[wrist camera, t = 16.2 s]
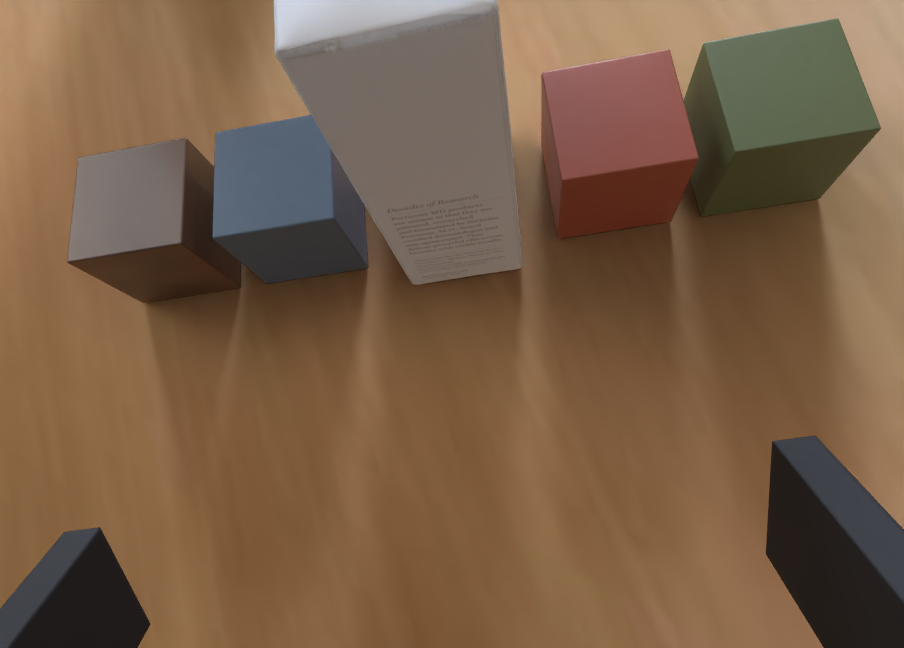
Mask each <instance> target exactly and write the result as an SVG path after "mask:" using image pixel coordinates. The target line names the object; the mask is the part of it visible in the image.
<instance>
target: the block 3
mask: <svg viewBox="0 0 904 648" xmlns="http://www.w3.org/2000/svg"><path fill="white" fill-rule="evenodd" d="M541 145H542V151H543V157H544V163H545V168H546V174H547V180H548V185H549V191H550V197H551V203H552V208H553V214H554V220H555V225H556V231H557V237H558V238H559V239H560V238H567V237H573V236H579V235H586V234H592V233H599V232H605V231H612V230H618V229H625V228H631V227H638V226H644V225H651V224H657V223H664V222H670V221H671V220H672V218H673V216H674V213H675V211H676V209H677V207H678V204H679V202H680V200H681V198H682V195H683V193H684V191H685V189H686V186H687V184H688V182H689V180H690V177H691V175H692V173H693V171H694V168H695V166H696V164H697V162H698V159H699V157H698V153H697V149H696V146H695V142H694V138H693V135H692V131H691V127H690V123H689V120H688V116H687V112H686V109H685V105H684V101H683V98H682V94H681V90H680V86H679V83H678V79H677V75H676V72H675V68H674V64H673V61H672V57H671V53H670V50H662V51H657V52H651V53H646V54H640V55H635V56H630V57H624V58H619V59H613V60H608V61H602V62H597V63H591V64H586V65H580V66H575V67H570V68H564V69H559V70H553V71H548V72H543V73H542V128H541Z"/></svg>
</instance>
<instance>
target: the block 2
mask: <svg viewBox="0 0 904 648" xmlns="http://www.w3.org/2000/svg"><path fill="white" fill-rule="evenodd" d="M213 239H214V240H215V241H216V242H218V243H219V244H220V245H221V246H222V247H223V248H225V249H226V250H227V251H228V252H229V253H231V254H232V255H233V256H234V257H235V258H237V259H238V260H239V261H240V262H241V263H243V264H244V265H245V266H246V267H247V268H249V269H250V270H251V271H252V272H253V273H254V274H256V275H257V276H258V277H259V278H260V279H262V280H263V281H264V282H265V283H267V284H268V283H274V282H281V281H287V280H294V279H300V278H307V277H313V276H320V275H326V274H333V273H339V272H346V271H352V270H359V269H365V268H368V253H367V238H366V222H365V206H364V203H363V202H362V200H361V198H360V196H359V195H358V193H357V191H356V190H355V188H354V186H353V185H352V183H351V181H350V180H349V178H348V176H347V174H346V173H345V171H344V170H343V168H342V166H341V164H340V162H339V161H338V159H337V158H336V156H335V154H334V153H333V151H332V149H331V148H330V146H329V144H328V143H327V141H326V139H325V137H324V136H323V134H322V132H321V131H320V129H319V127H318V125H317V124H316V122H315V120H314V119H313V117H312V115H309V116H303V117H298V118H292V119H287V120H281V121H276V122H271V123H265V124H260V125H254V126H249V127H243V128H238V129H232V130H227V131H221V132H216V133H215V162H214V201H213Z"/></svg>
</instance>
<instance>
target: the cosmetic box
mask: <svg viewBox="0 0 904 648" xmlns="http://www.w3.org/2000/svg"><path fill="white" fill-rule="evenodd" d="M274 22H275V46H274V49H275V55H276V57H277V59H278V60H279V62H280V63H281V65H282V67H283V69H284V70H285V72H286V74H287V75H288V77H289V79H290V80H291V82H292V84H293V85H294V87H295V89H296V90H297V92H298V94H299V96H300V97H301V99H302V101H303V102H304V104H305V105H306V107H307V109H308V110H309V112H310V114H311V115H312V117H313V119H314V120H315V122H316V124H317V125H318V127H319V129H320V131H321V132H322V134H323V136H324V137H325V139H326V141H327V143H328V144H329V146H330V148H331V149H332V151H333V153H334V154H335V156H336V158H337V159H338V161H339V162H340V164H341V166H342V168H343V170H344V171H345V173H346V174H347V176H348V178H349V180H350V181H351V183H352V185H353V186H354V188H355V190H356V191H357V193H358V195H359V196H360V198H361V200H362V202H363V203H364V205H365V207H366V208H367V210H368V212H369V213H370V215H371V217H372V218H373V220H374V222H375V223H376V225H377V227H378V228H379V230H380V232H381V233H382V235H383V237H384V238H385V240H386V242H387V243H388V245H389V246H390V248H391V250H392V252H393V253H394V255H395V257H396V258H397V260H398V262H399V264H400V265H401V267H402V268H403V270H404V272H405V273H406V275H407V277H408V278H409V280H410V282H411V283H412V284H415V285H421V284H426V283H432V282H438V281H443V280H450V279H456V278H462V277H468V276H474V275H482V274H488V273H495V272H502V271H509V270H515V269H520V268H522V266H523V256H522V244H521V235H520V225H519V215H518V204H517V194H516V182H515V171H514V161H513V150H512V139H511V128H510V117H509V106H508V97H507V88H506V79H505V69H504V60H503V50H502V40H501V30H500V19H499V9H498V2H497V0H274Z"/></svg>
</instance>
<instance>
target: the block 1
mask: <svg viewBox="0 0 904 648" xmlns="http://www.w3.org/2000/svg"><path fill="white" fill-rule="evenodd" d="M213 201H214V167H213V166H212V165H211V164H210V162H209V161H208V160H207V159H206V158H205V157H204V156H203V155H202V154H201V153H200V152H199V151H198V150H197V149H196V148H195V147H194V146H193V144H192V143H191V142H190V141H189V140H188V139H187V138H182V139H177V140H171V141H166V142H160V143H155V144H150V145H144V146H139V147H133V148H128V149H122V150H117V151H111V152H106V153H100V154H95V155H90V156H84V157H79V158H78V164H77V174H76V183H75V192H74V201H73V210H72V219H71V229H70V238H69V247H68V256H67V262H68V263H69V264H71V265H73V266H75V267H77V268H78V269H80V270H82V271H84V272H86V273H88V274H90V275H92V276H94V277H95V278H97V279H99V280H101V281H103V282H105V283H107V284H109V285H111V286H112V287H114V288H116V289H118V290H120V291H122V292H124V293H126V294H128V295H129V296H131V297H133V298H135V299H137V300H139V301H141V302H143V303H146V302H152V301H159V300H165V299H172V298H178V297H185V296H191V295H198V294H204V293H211V292H217V291H224V290H230V289H237V288H240V287H241V262H240V261H239V260H238V259H237V258H235V257H234V256H233V255H232V254H231V253H229V252H228V251H227V250H226V249H225V248H223V247H222V246H221V245H220V244H219V243H218V242H216V241H215V240H214V239H213Z"/></svg>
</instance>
